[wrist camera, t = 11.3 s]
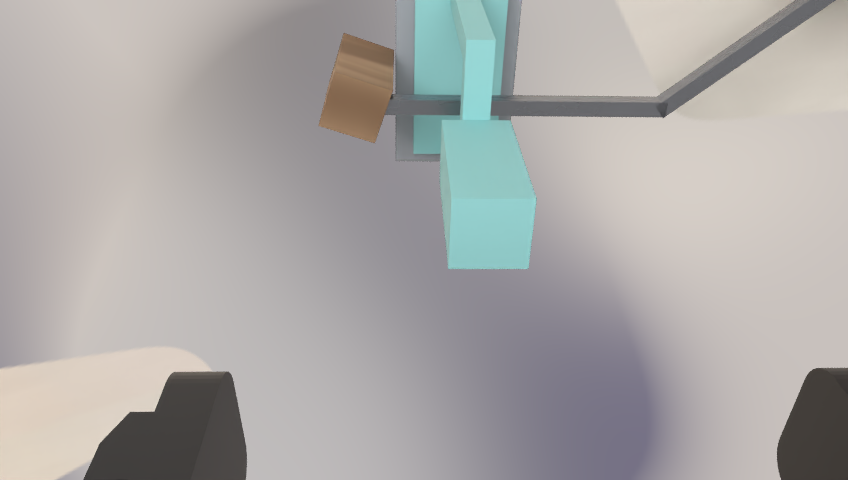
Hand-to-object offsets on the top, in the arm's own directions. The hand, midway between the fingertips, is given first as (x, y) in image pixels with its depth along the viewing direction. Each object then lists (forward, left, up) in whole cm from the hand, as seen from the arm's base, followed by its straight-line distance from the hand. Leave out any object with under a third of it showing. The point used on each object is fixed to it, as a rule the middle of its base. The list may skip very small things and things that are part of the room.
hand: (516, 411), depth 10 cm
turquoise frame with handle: (+5, +4, -33) cm, 33 cm away
